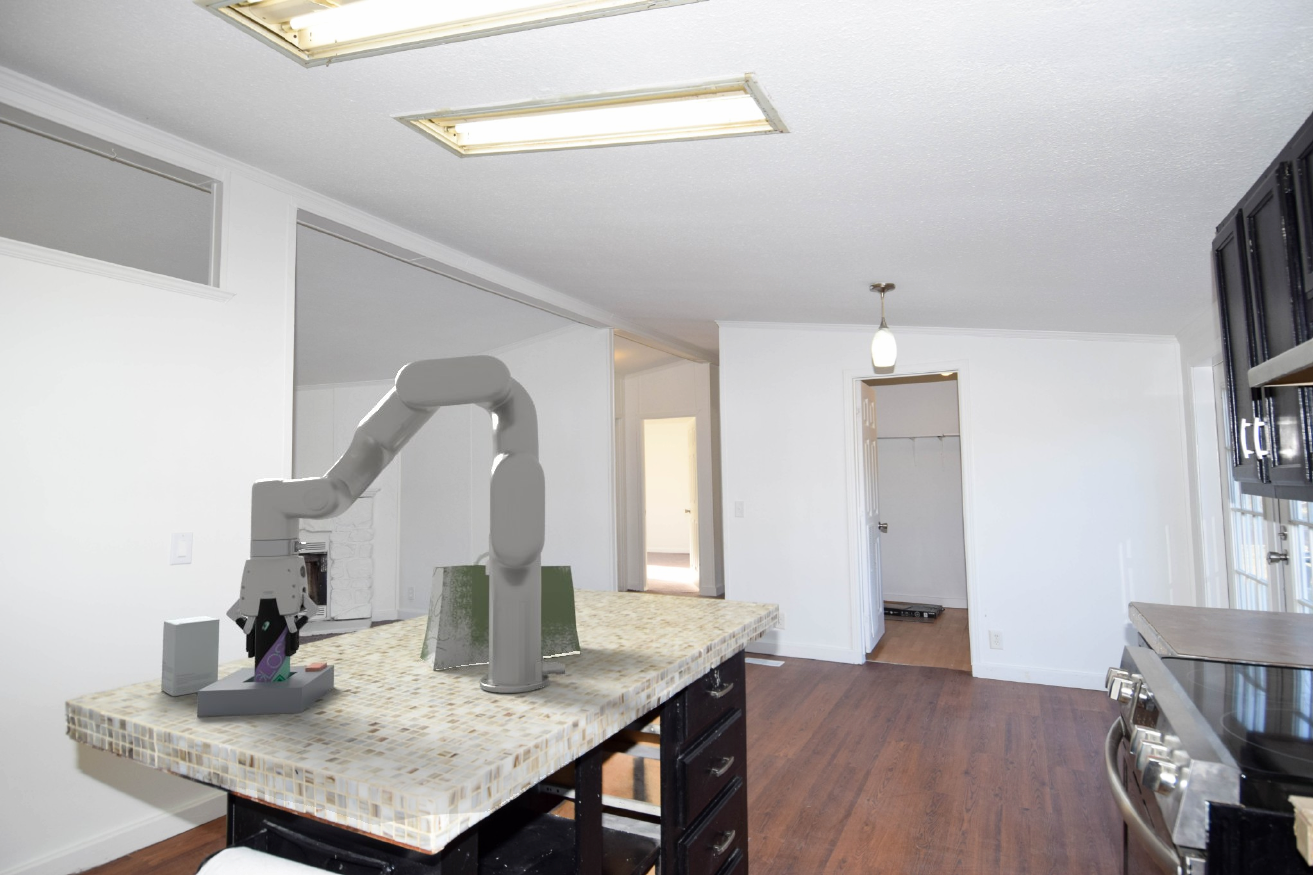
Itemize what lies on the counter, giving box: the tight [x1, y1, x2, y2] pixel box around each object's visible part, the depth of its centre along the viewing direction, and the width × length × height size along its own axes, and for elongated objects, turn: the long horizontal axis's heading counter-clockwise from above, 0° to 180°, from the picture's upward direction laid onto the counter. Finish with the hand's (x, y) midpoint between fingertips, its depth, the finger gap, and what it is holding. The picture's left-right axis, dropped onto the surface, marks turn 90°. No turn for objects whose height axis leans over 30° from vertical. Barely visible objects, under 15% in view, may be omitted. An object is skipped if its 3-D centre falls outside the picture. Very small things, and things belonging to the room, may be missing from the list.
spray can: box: [254, 591, 291, 682], centre depth 129 cm, size 6×6×20 cm
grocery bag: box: [419, 550, 582, 671], centre depth 163 cm, size 32×14×23 cm, turn 117°
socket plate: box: [196, 661, 335, 717], centre depth 129 cm, size 16×16×5 cm
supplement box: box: [160, 615, 220, 697], centre depth 137 cm, size 7×7×13 cm
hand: (272, 654), depth 129 cm, fingers closed on spray can, 5 cm apart
